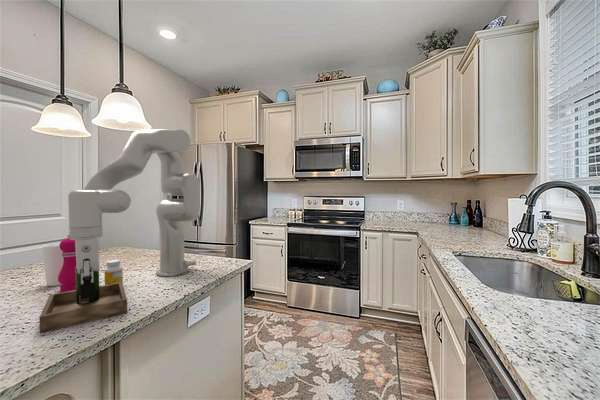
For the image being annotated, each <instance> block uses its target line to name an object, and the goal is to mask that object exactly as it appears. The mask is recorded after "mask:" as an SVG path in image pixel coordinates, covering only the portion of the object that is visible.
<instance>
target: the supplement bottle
mask: <svg viewBox="0 0 600 400" xmlns="http://www.w3.org/2000/svg"><path fill="white" fill-rule="evenodd" d="M106 266H107V267H105V268H104V285H109V284H114V283H120V282H122V283H123V284H124V275H123V273H124V272H123V269H124V268H123V266H122V265H121V259H111V260H108V261H106Z"/></svg>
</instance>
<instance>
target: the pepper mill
mask: <svg viewBox="0 0 600 400" xmlns="http://www.w3.org/2000/svg"><path fill="white" fill-rule="evenodd" d="M59 243H60V246H59V247H60V249H61V250H62V251H63V252H62V257H63V259H64V261H63V267H62V269H61V271H60V273H59V276H58V281H59V283H61V284H62V285H59V291H60V293H62V292H67V291H73V290H76V273H75V268H76V266H77V265H76V250H75V240H71V239H70V237H69V233H67V238H64V239H62V240H61V241H60V242H59Z"/></svg>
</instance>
